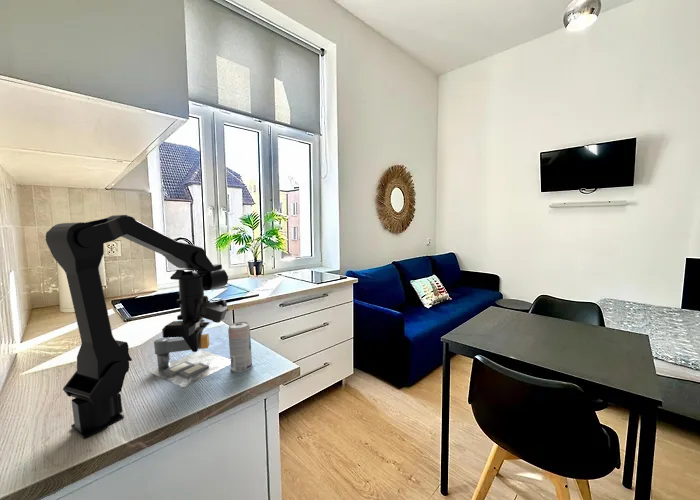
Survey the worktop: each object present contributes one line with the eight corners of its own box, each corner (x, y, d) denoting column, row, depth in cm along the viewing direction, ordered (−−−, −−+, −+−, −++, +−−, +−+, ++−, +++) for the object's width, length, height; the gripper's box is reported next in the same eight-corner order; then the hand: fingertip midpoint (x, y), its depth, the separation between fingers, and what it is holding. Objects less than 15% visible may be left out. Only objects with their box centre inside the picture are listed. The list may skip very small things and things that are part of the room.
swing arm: (153, 355, 80) (151, 343, 79) (157, 350, 83) (156, 338, 83) (207, 348, 83) (206, 337, 83) (209, 343, 87) (209, 332, 86)
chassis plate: (183, 389, 72) (182, 371, 71) (147, 372, 80) (146, 356, 80) (236, 362, 84) (235, 347, 84) (200, 351, 93) (199, 337, 92)
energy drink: (251, 362, 85) (248, 320, 83) (252, 370, 80) (250, 326, 78) (231, 365, 83) (228, 323, 81) (231, 375, 78) (227, 329, 76)
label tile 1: (187, 378, 76) (187, 375, 76) (178, 374, 78) (178, 372, 78) (209, 367, 81) (208, 365, 81) (199, 364, 83) (199, 362, 83)
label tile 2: (172, 375, 77) (172, 373, 77) (163, 372, 79) (163, 370, 79) (194, 365, 82) (194, 363, 82) (186, 362, 84) (186, 360, 84)
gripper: (207, 302, 71) (210, 366, 72) (234, 286, 90) (237, 338, 91) (158, 303, 71) (163, 368, 72) (196, 287, 89) (199, 339, 90)
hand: (195, 351), depth 81 cm, fingers closed
